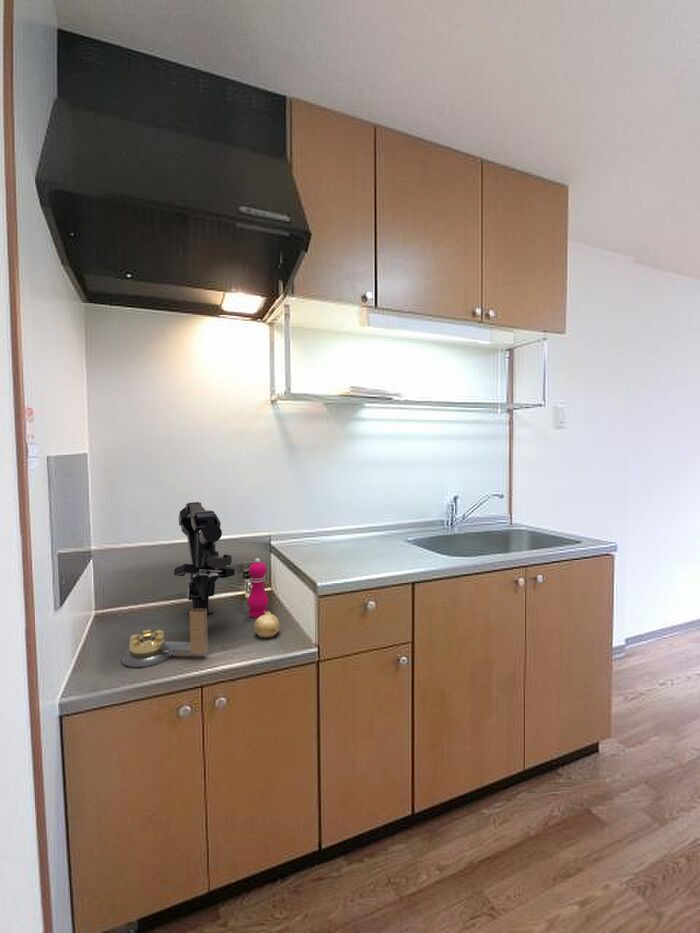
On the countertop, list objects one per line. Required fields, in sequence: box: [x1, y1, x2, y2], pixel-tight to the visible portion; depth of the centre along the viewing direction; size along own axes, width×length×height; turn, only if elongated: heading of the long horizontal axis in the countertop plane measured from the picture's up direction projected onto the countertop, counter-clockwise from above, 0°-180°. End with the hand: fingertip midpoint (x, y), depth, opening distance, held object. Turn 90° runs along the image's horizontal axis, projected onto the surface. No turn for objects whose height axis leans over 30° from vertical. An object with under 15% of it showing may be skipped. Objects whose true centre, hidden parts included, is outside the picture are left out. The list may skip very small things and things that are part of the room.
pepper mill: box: [247, 557, 269, 619], centre depth 153 cm, size 7×7×20 cm
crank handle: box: [129, 608, 209, 658], centre depth 124 cm, size 22×9×12 cm, turn 87°
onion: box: [253, 611, 280, 639], centre depth 138 cm, size 8×8×7 cm
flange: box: [121, 647, 173, 669], centre depth 124 cm, size 13×13×2 cm
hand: (205, 599), depth 135 cm, fingers closed
